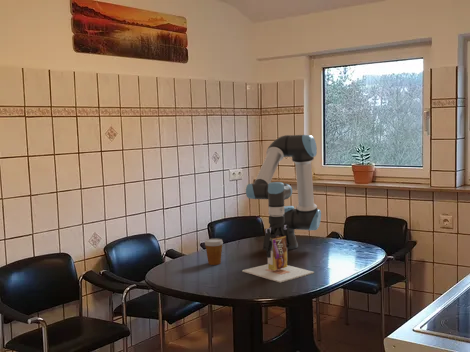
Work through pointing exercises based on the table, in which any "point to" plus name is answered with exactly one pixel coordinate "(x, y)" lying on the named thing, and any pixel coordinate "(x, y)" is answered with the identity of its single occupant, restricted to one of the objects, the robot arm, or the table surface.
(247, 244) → the table surface
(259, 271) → the mat
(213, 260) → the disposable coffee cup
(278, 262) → the candy box
